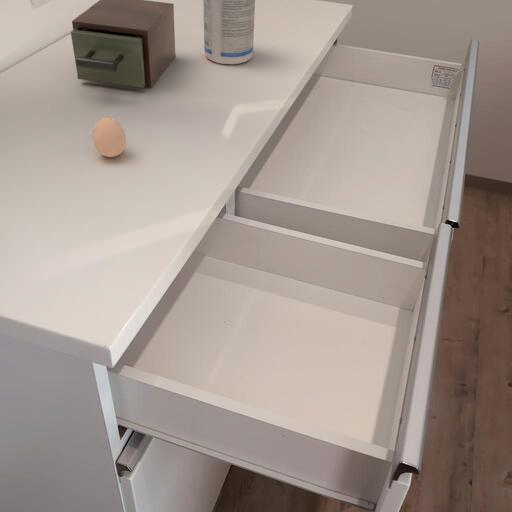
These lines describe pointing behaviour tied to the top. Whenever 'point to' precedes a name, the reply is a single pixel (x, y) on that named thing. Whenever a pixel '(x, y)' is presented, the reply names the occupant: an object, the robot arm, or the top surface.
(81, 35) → the drawer
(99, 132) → the egg
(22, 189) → the top surface
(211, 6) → the supplement tub
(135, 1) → the cabinet
